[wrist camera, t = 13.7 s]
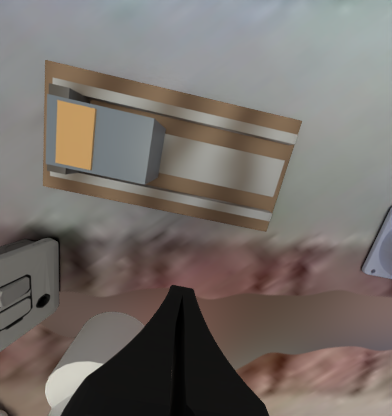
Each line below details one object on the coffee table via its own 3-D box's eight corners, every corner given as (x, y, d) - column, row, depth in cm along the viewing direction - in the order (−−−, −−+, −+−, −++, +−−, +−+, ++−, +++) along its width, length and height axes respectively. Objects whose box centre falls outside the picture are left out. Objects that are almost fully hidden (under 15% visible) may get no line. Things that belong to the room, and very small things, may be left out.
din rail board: (298, 122, 18) (322, 113, 15) (264, 229, 21) (277, 243, 18) (50, 63, 17) (13, 39, 14) (47, 185, 20) (15, 190, 16)
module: (165, 129, 18) (153, 117, 13) (157, 177, 19) (144, 185, 14) (88, 111, 17) (44, 92, 12) (84, 162, 19) (43, 163, 14)
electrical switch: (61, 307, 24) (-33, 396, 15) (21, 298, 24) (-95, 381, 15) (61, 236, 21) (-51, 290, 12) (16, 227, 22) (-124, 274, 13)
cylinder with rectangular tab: (117, 378, 27) (55, 550, 15) (65, 337, 25) (-50, 496, 13) (165, 344, 25) (139, 505, 13) (115, 298, 23) (34, 438, 12)
